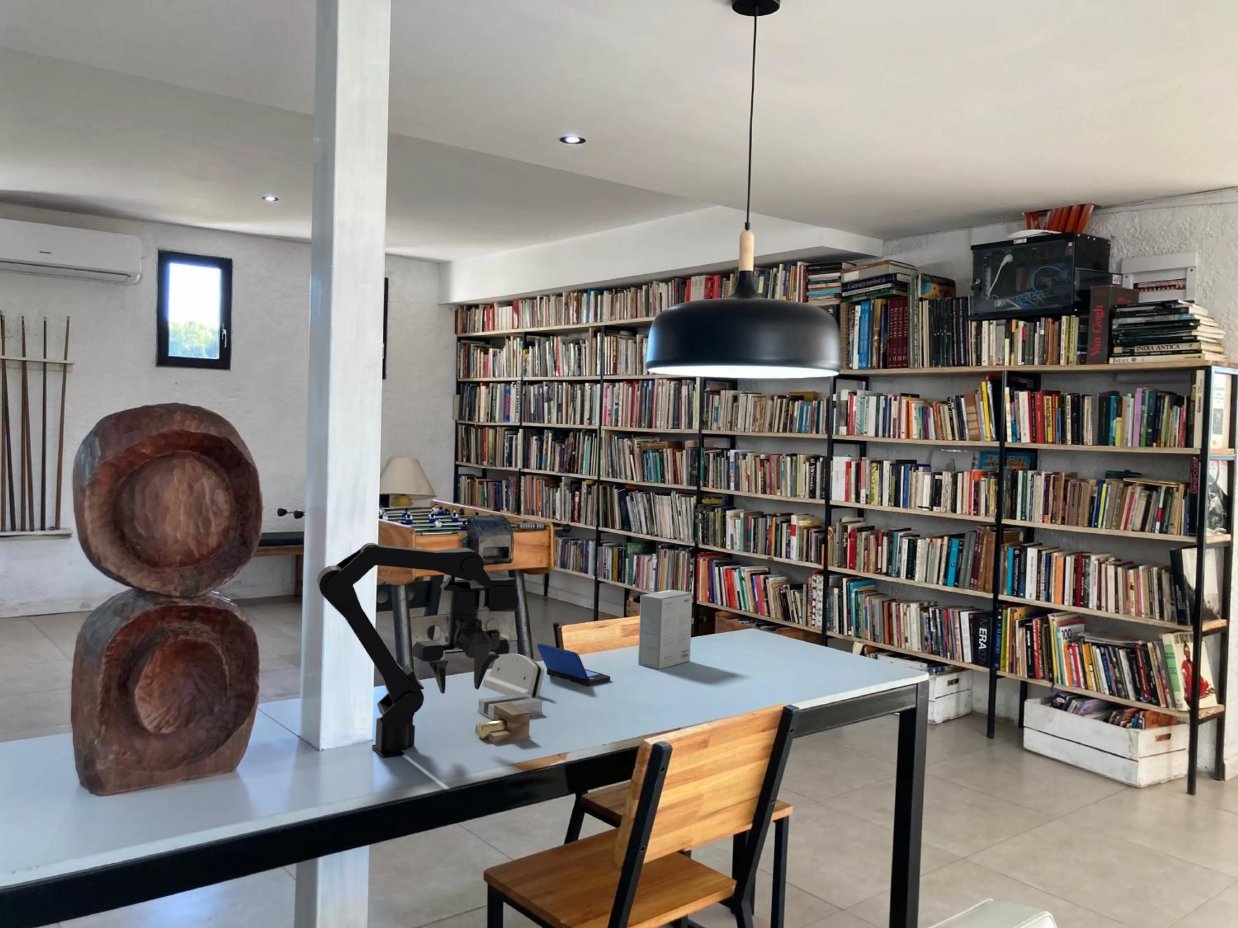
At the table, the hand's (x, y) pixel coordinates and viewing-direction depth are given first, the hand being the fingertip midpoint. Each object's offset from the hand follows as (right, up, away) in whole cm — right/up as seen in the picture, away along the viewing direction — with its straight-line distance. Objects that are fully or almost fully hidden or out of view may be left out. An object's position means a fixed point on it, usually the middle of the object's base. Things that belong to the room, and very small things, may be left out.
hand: (459, 690), depth 183 cm
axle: (+8, -10, +6) cm, 14 cm away
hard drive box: (+44, -12, +80) cm, 92 cm away
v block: (+7, -11, +22) cm, 25 cm away
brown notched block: (+8, -11, +6) cm, 15 cm away
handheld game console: (+20, -11, +57) cm, 62 cm away
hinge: (+6, -11, +43) cm, 45 cm away
